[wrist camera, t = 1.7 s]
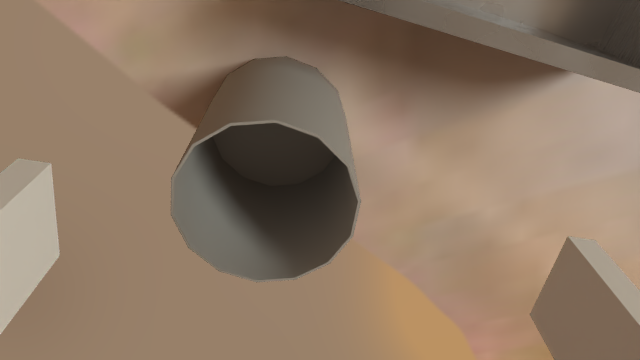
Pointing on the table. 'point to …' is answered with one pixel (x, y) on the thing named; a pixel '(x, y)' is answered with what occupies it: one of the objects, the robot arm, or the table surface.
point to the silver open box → (539, 30)
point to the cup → (268, 174)
